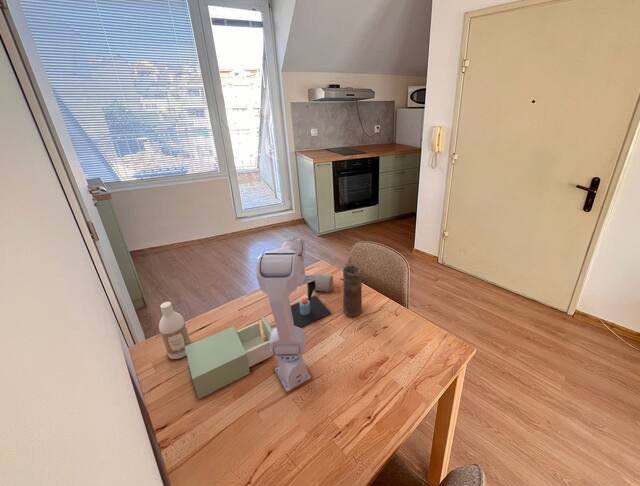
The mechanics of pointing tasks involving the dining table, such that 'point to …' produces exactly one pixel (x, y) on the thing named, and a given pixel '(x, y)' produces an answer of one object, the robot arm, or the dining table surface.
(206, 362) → the green drawer cabinet
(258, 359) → the drawer
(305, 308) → the bottle
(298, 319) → the mat
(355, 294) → the dark brown flask
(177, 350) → the bath foam
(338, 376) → the dining table surface
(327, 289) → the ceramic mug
